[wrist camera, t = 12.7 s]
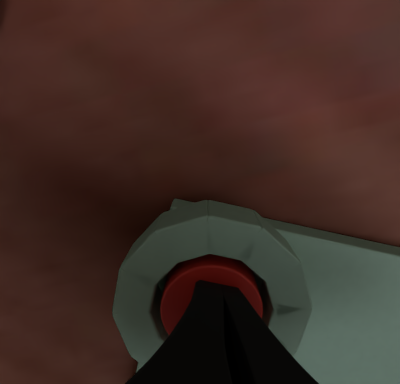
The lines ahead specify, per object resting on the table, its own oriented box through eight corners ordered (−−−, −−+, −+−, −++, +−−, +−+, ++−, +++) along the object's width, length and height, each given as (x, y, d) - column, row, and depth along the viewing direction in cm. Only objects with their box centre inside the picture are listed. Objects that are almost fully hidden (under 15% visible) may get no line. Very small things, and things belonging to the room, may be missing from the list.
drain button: (264, 252, 11) (275, 278, 9) (242, 328, 12) (248, 364, 10) (176, 233, 11) (170, 255, 9) (159, 311, 11) (151, 345, 10)
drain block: (472, 249, 12) (559, 291, 9) (385, 431, 14) (431, 512, 11) (149, 177, 11) (130, 198, 9) (112, 378, 14) (87, 449, 11)
